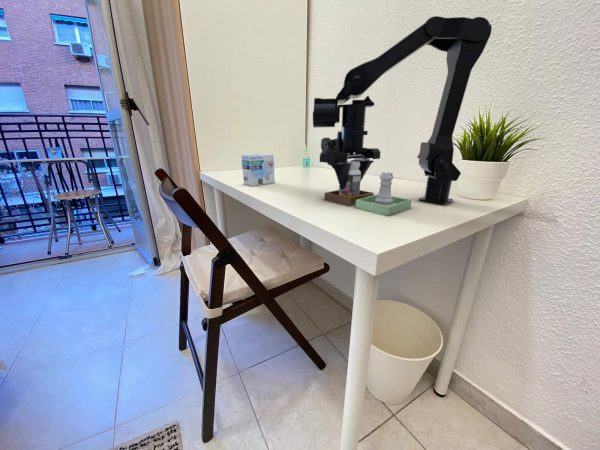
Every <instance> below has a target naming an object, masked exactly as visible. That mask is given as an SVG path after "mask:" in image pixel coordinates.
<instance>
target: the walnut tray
mask: <svg viewBox="0 0 600 450" xmlns="http://www.w3.org/2000/svg"><path fill="white" fill-rule="evenodd" d="M323 194H324V196H323V197H324V198H323V200H324V201H327V202H331V203H336V204H340V205H344V206H348V207H351V206H356V200H357V199H361V198H365V197H369V196H373V195H374V192H372V191H366V190H361V189H360V193H359V196H355V197H351V198H348V197H344V196H339V189H336V190H331V191H327V192H324V193H323Z"/></svg>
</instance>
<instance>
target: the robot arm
mask: <svg viewBox="0 0 600 450" xmlns="http://www.w3.org/2000/svg"><path fill="white" fill-rule="evenodd" d="M492 30H493V29H492V24H491V23H490V22H489V20H488V19H487V18H486V17H483V16H475V17H473V18H470V17H466V16H462V17H461V16H459V17H458V16H457V17H443V16H438V15H436V16H435V15H433V16H430V17H429V18H428V19H427V20H426V21H425V22H424V23H423V24H421V25H420V26H419V27H417V28H416V29H415V30H413V31H412V32H410V33H409V34H407V36H405V37H404V38H402V39H401V40H400V41H398V42H397V43H396V44H394V45H392V46H391V47H390V48H388V49H387V50H385V51H384V52H383V53H381V54H380V55H378V56H377V57H375V58H374V59H371V60H368V61H365V62H363V63H361V64H358V65H357V66H355V67H353V68H351V69H349V71H348V72H347V73H346V74H345V77H344V81H343V84H342V88H341V89H340V91H339V92H338V93H337V95H336V96H335V97H334V98H321V97H314V99H313V111H312V127H313V129H314V128H335V127H336V124H340V116H341V131H337V134H336V138H330V137H323V138H322V139H321V140H320V150H321V152H320V153H319V163H325V164H327V165H328V166H331V168H332V169H333V171H334V172H335V176H336V179H337V181H338V186H339V185H340V188H341V189H344V188H345V186H346V182H347V178H348V175H349V171H350V167H351V163H347V161H349V160H350V161H358V162H360V167H359V170H360V172H361V180H360V183H361V181H362V180H363V178H364V177H365V175H366V173H367V172H368V170H369V169H370V167H371V165H372V164H373V163H374V162H375V160H380V159H381V150H380V149H379V148H378V147H364V140H365V137H364V136H368V132H369V131H368V130H365V124H366V110H367V109H368V108H373V107H374V106H375V101H373V100H372V99H371V98H370V96H369V95H367V96H366V97H365V98H364V99H358V98H361V97H362V95H364V94H365V93H366V92H367V91H368V90H369V89H370V88H371V87H372V86H373V85H374V84H375V83H376V82H377V81H378V80H379V79H380V78H381V77H382V76H383V75H385V74H386V73H387V72H390V71H391V70H392V69H393V68H395V67H396V66H397V65H399V64H401V63H402V62H403V61H405V60H406V59H407V58H409V57H410V56H412V55H413V54H415V53H416V52H418V51H419V50H421V49H422V48H424V47H425V46H430V47H432V48H434V49H436V50H438V51H440V52H445V53H446V68H447V75H446V79H445V83H444V85H443V86H444V87H443V90H442V94H441V97H440V101H439V104H438V110H437V113H436V117H435V121H434V125H433V128H432V133H431V136H430V137H429V139H428V140H427V142H426V141H425V142H424V141H422V142H420V146H419V153H418V155H417V157H416V159H418V165H419V167H420V168H421V169H422V170H423V173H424V176H425V177H427V179H426V186H425V192H424V196H422V197H420V198H418V201H420V202H425V203H431V204H436V205H441V206H442V205H447V204H450V203H451V202H454V199H453V198H450V193H451V187H452V182H457V181H458V179H459V177H460V176H461V175H462V172H461V171H460V170H459V169H458V167H457V166H456V165H455V164H454V163H453V161H454V160H453V159H454V151H455V149H454V142H453V135H454V132H455V128H456V124H457V121H458V118H459V115H460V111H461V107H462V104H463V101H464V97H465V93H466V90H467V88H468V83H469V80H470V76H471V73H472V71H473V68H474V67H475V65H476V64H477V62H478V60H479V59H480V58H481V55H482V54H483V53H484V50H485V48H486V46H487V44H488V42H489V39H490V37H491V34H492ZM351 99H352V100H351ZM349 100H351V103H347V104H345V103H346V102H348V101H349ZM341 109H342V110H341ZM341 111H342V112H341ZM371 159H372V160H371Z"/></svg>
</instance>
